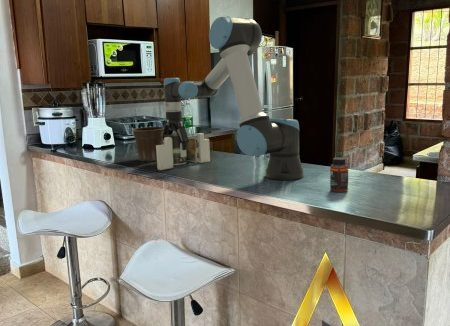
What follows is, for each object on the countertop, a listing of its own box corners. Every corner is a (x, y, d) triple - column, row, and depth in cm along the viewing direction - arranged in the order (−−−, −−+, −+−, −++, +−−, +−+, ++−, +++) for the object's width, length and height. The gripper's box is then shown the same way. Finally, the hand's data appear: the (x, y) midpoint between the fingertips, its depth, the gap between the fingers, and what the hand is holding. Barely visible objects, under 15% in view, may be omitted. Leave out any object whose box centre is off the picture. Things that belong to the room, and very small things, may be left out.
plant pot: (143, 164, 205) (140, 131, 202) (129, 159, 218) (127, 128, 215) (172, 159, 215) (170, 128, 212) (157, 155, 228) (155, 126, 224)
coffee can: (189, 161, 208) (188, 133, 205) (183, 165, 198) (181, 135, 195) (169, 161, 210) (168, 133, 207) (162, 165, 200) (160, 136, 197)
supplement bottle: (351, 190, 145) (351, 157, 142) (343, 193, 140) (343, 160, 138) (335, 187, 149) (335, 156, 146) (326, 191, 144) (327, 158, 142)
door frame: (210, 161, 206) (208, 132, 203) (160, 170, 190) (158, 139, 187) (207, 160, 208) (206, 132, 205) (157, 169, 191) (155, 138, 189)
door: (198, 160, 208) (197, 137, 206) (195, 161, 205) (194, 138, 203) (176, 158, 214) (175, 137, 211) (172, 159, 211) (171, 138, 208)
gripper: (153, 110, 207) (156, 153, 211) (180, 112, 187) (183, 159, 191) (167, 109, 211) (169, 151, 215) (194, 111, 192) (196, 157, 196)
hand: (176, 155), depth 203 cm, fingers open, 13 cm apart
